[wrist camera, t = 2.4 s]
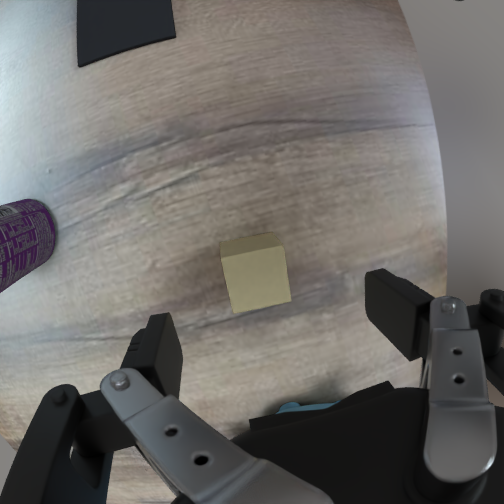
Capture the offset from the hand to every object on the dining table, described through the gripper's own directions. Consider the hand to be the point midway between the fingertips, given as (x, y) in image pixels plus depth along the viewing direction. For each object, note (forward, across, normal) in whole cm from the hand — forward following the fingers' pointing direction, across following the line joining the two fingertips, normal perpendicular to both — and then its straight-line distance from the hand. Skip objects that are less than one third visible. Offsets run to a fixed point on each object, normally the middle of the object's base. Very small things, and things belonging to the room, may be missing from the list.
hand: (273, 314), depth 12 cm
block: (+17, -1, +3) cm, 18 cm away
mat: (+17, +8, -24) cm, 31 cm away
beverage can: (+18, +22, -4) cm, 28 cm away
